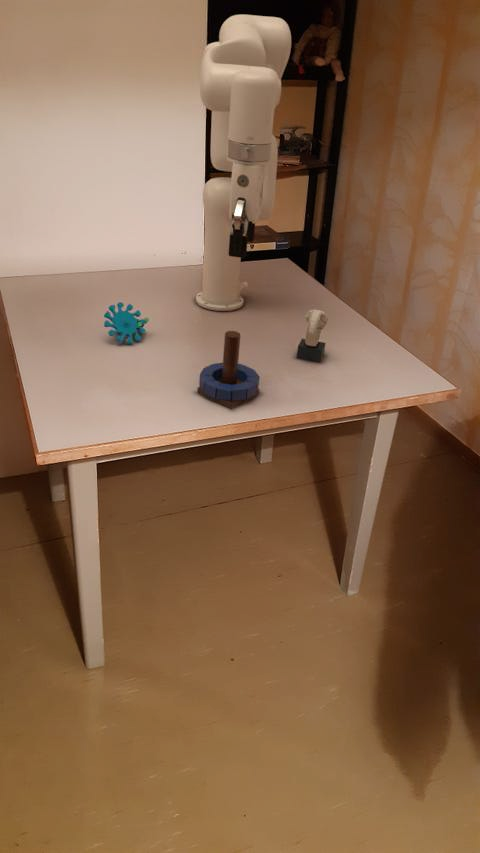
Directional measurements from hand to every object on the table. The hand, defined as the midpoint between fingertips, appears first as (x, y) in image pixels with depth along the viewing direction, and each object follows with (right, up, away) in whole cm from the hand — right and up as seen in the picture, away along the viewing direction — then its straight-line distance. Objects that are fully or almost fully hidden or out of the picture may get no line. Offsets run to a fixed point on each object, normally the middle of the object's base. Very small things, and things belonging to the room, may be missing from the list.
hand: (241, 248), depth 126 cm
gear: (-26, -13, +29) cm, 41 cm away
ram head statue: (+16, -18, +28) cm, 37 cm away
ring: (-2, -25, +11) cm, 27 cm away
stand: (-3, -27, +10) cm, 29 cm away
